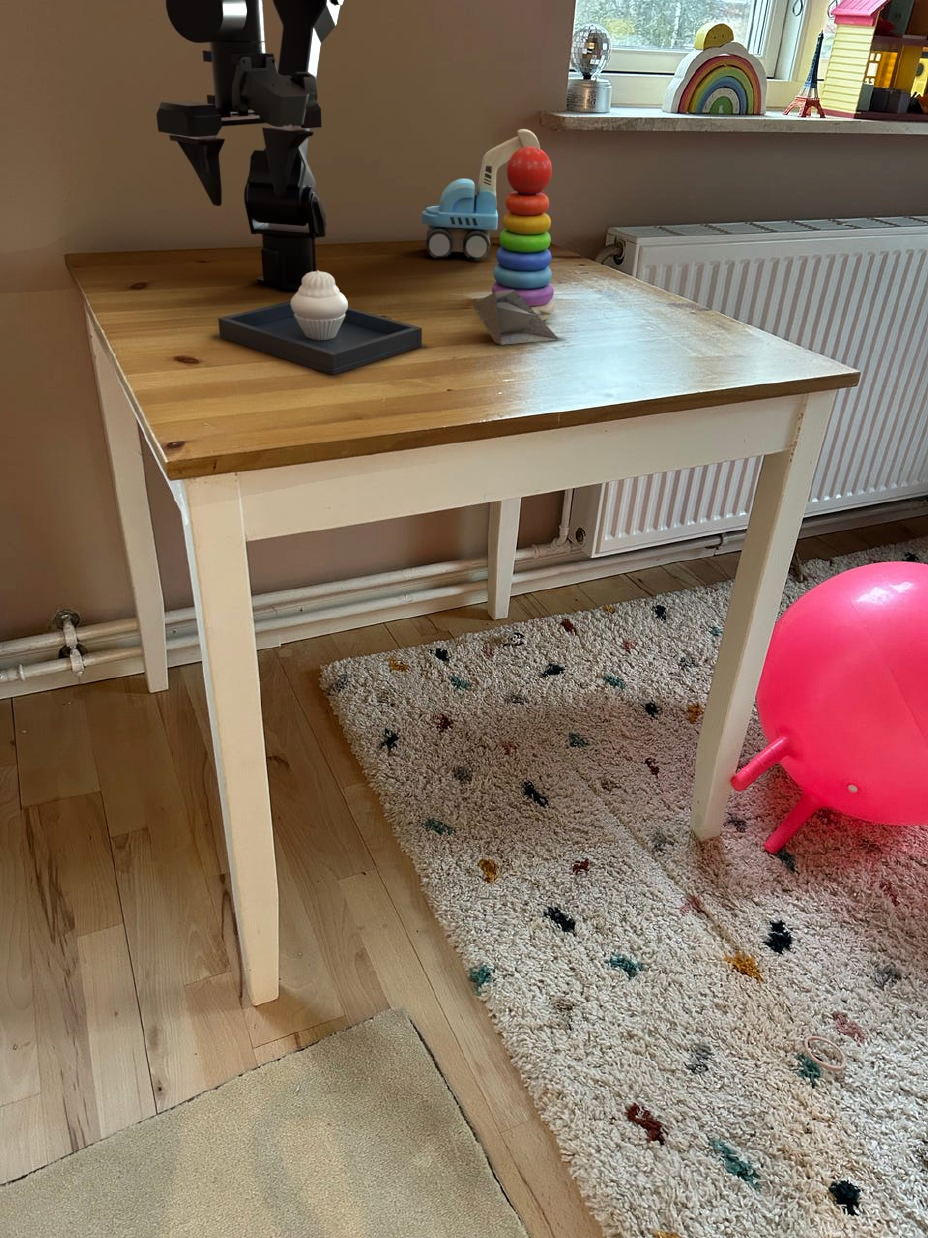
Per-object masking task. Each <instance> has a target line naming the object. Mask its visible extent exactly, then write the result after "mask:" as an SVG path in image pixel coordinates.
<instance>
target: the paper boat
mask: <svg viewBox="0 0 928 1238" xmlns="http://www.w3.org/2000/svg"><path fill="white" fill-rule="evenodd" d="M471 305H472V307H473V308H474V310H475V312H476V313H477V315H478V317H479V318H480V320H481V321H482V323H483V325H484V326H485V329H486V330H487V331H488V334H489V335H490V337H491V338H492V340H493V341H494V343H495V344H498V345H501V346H503V345H513V344H525V343H537V342H545V341H546V342H548V341H559V340H560V339H559V338H558V336H557V335H556V334H555V333H554V332H553V330H552V329H551V328H550V327H549V326H548V325H547V323H545V322H544V320H543V321H542V320H541V319H540V317H539V316H538V315H550V314H551V313H548V312H545V311H543V310H540V309H538V311H539V312H540V313H541V314H536V313H535V312H534V311H533V310H532V309H531V307H530V306H529V305H528V304H527V303H526V302H525V301H524V300H523V298H522V297H521V296H520V295H519V294H518V293H517V292H516V291H515V290H507V291H498V292H494V293H492V292H491V294H489V295H486V296H485V297H483V298H481V299H479V300H477V301H475V302H473V303H472V304H471Z"/></svg>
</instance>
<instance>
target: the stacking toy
mask: <svg viewBox="0 0 928 1238" xmlns="http://www.w3.org/2000/svg"><path fill="white" fill-rule="evenodd" d="M552 171H553V169H552V162H551V160H550V158H549V156H548V154H547V153H546V152H545V151H544V150H542V149H541V148H540V149H539V148H536V147H524V148H521V149H519V150H517V151H516V152H515V153H514V154H513V155H512V156H511V158H510V160H508V161H507V167H506V176H507V180H508V183H509V185H510V187H511V189H513V191H511V192H510V193H508V194H507V196H506V198H505V207H506V209H507V210H508V212H506V214H504V217H503V220H502V223H503V226H504V228H505V229H503V230H502V231H501V232H500V234H499V243H500V247H499V248H498V250H497V251H496V255H495V256H496V257H495V258H496V261H497V263H498V264H496V265H495V266H494V268H493V278H494V280H495V282H493V284H492V286H491V294H492V293H494V292H498V291H507V290H515V291H516V292H517V293H518V294H519V295H520V296H521V297H522V298H523V300H524V301H525V302H526V303H527V304H528V305H529V306H530V307H531V309H532V310H533V311H534V312H535V313H536V314H541V313H540V312H539V311H538V309H540V310H543V311H545V312H548V313H551V314H550V315H538V316H539V317H540V319H541V320H542V321H543V322H544V321H546V320H548V319H550V318H551V316H553V313H554V310H555V309H554V308H555V307H554V304H553V302H552V299H553V298H554V294H555V290H554V287H553V285H552V284H551V283H550V281H551V280H552V277H553V275H552V274H553V273H552V270H551V268H550V267H549V265H550V264H551V262H552V254H551V253H552V252H551V251H550V250H549V249H548V248H549V247H550V245H551V241H552V239H551V235H550V233H549V232H548V231H549V229H550V227H551V223H552V220H551V217H550V216H549V214H547V213H545V212H546V211H548V210H549V206H550V199H549V197H548V196H547V195H546V194H545V193H542V192H543V191H544V190H545V189H546V188H547V186H548V185H549V182H550V181H551V178H552V173H553V172H552Z"/></svg>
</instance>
